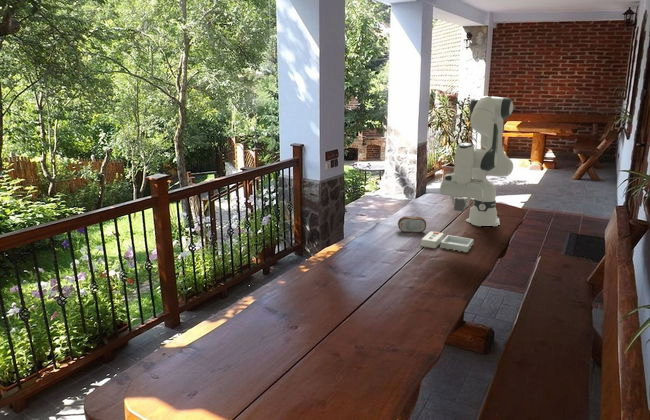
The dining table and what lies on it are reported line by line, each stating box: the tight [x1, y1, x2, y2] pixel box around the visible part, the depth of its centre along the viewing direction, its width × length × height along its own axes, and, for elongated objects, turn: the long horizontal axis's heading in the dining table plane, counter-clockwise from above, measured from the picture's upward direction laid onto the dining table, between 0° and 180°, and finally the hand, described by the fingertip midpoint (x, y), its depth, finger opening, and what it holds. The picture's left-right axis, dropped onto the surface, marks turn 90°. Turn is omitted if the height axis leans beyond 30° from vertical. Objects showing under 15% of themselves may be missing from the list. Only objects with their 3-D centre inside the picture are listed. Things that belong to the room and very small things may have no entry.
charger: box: [453, 196, 467, 214], centre depth 237 cm, size 4×4×7 cm
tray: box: [439, 234, 474, 253], centre depth 242 cm, size 13×13×3 cm
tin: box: [397, 215, 427, 234], centre depth 263 cm, size 15×3×8 cm, turn 84°
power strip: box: [420, 230, 445, 249], centre depth 249 cm, size 21×7×4 cm, turn 151°
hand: (460, 205), depth 237 cm, fingers closed on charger, 4 cm apart
